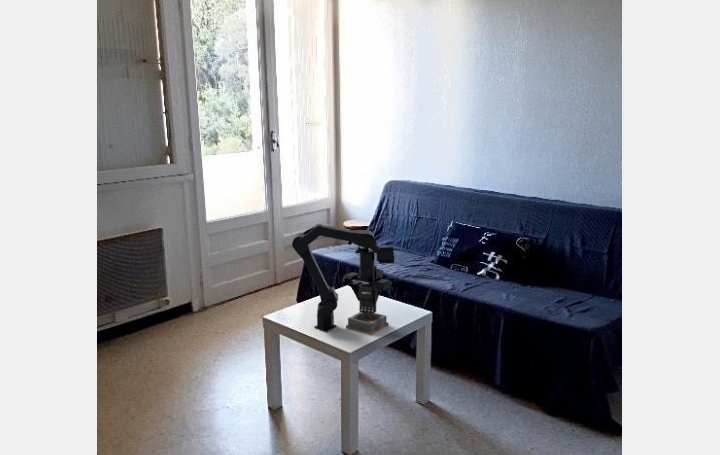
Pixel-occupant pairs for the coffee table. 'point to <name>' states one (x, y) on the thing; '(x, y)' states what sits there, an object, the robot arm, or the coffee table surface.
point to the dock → (367, 322)
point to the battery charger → (366, 298)
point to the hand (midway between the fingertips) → (366, 302)
